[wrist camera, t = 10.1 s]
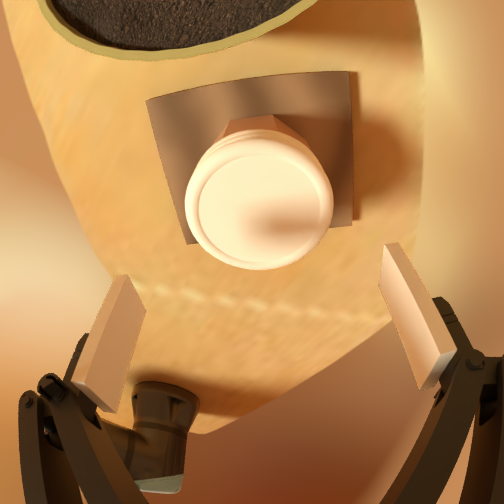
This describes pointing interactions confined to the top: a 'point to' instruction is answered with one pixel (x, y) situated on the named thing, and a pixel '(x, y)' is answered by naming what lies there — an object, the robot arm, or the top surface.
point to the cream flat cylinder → (259, 200)
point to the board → (251, 105)
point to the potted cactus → (165, 25)
